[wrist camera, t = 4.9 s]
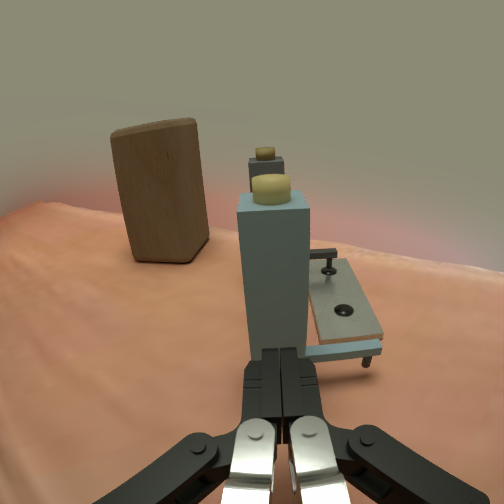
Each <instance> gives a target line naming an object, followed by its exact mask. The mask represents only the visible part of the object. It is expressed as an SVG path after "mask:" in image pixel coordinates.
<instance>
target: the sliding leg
mask: <svg viewBox="0 0 504 504" xmlns="http://www.w3.org/2000/svg"><path fill="white" fill-rule="evenodd" d="M252 192H253V193H241V195H240V200H239V204H238V208H237V221H238V232H239V242H240V253H241V263H242V273H243V284H244V294H245V304H246V313H247V323H248V333H249V342H250V352H251V361H258V360H262V349H264V348H278V351H279V369H280V348H284V347H296V348H297V355H298V358H309V359H310V360H311V361H312V363H316V362H327V361H336V360H345V359H353V358H361V357H363V360H362V364H361V365H362V367H364V368H368V367H369V366H370V363H371V359H372V356H376V355H380V354H381V351H382V345H381V343H380V340H379V339H371V340H364V341H355V342H346V343H337V344H327V345H315V346H306V338H307V319H308V296H309V262H310V207H309V205H308V204H307V202H306V200H305V198H304V196H303V194H302V192H301V191H300V190H293V191H291V187H290V176H288V175H284V174H265V175H259V176H255V177H253V178H252Z"/></svg>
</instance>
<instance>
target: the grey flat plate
mask: <svg viewBox="0 0 504 504" xmlns="http://www.w3.org/2000/svg"><path fill="white" fill-rule="evenodd" d="M326 262H327V260H310V262H309V298H310V302H311V307H312V311H313V315H314V319H315V324H316V328H317V332H318V337H319V341H320V345H327V344H337V343H346V342H355V341H364V340H371V339H379V340H381V339H382V338H383V334H384V333H383V330H382V328H381V326H380V324H379V322H378V320H377V318H376V316H375V314H374V312H373V310H372V308H371V306H370V304H369V302H368V300H367V298H366V296H365V294H364V292H363V290H362V288H361V286H360V284H359V282H358V280H357V278H356V276H355V274H354V272H353V270H352V269H351V267H350V265H349V263H348V261H347V259H346V258H344V259H332V268H331V269H327V268H326Z"/></svg>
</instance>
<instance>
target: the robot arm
mask: <svg viewBox="0 0 504 504" xmlns="http://www.w3.org/2000/svg"><path fill="white" fill-rule="evenodd" d="M281 434H283V444H288V452H289V455H288V462H289V469H290V477H291V484H292V491H293V504H350V500H349V496H348V491H347V487H346V483H345V480H346V481H348V482H349V483H350V484H352V485H353V486H354V487H356V488H357V489H358V490H360V491H361V492H362V493H364V494H365V495H366V496H368V497H369V498H370V499H372V500H373V501H375V502H376V503H377V504H490V501H489V498H488V496H487V495H486V494H484V493H483V492H481V491H479V490H477V489H476V488H474V487H472V486H470V485H468V484H467V483H465V482H463V481H461V480H460V479H458V478H456V477H455V476H453V475H451V474H449V473H448V472H446V471H444V470H443V469H441V468H440V467H438V466H436V465H435V464H433V463H431V462H430V461H428V460H427V459H425V458H423V457H422V456H420V455H419V454H417V453H416V452H414V451H412V450H411V449H409V448H408V447H406V446H405V445H403V444H402V443H400V442H399V441H397V440H396V439H394V438H393V437H391V436H390V435H388V434H387V433H385V432H384V431H382V430H381V429H380V428H378V427H376V426H374V425H361V426H359V427H357V428H355V429H354V430H349V429H342V428H337V427H334V426H332V425H331V424H329V423H328V422H327V421H326V419H325V418H324V416H323V411H322V405H321V399H320V392H319V386H318V380H317V374H316V368H315V365H314V364H313V363H312V361H311V360H310V359H309V358H298V355H297V348H296V347H284V348H280V369H279V351H278V348H264V349H262V360H258V361H249V363H248V365H247V366H246V368H245V370H244V385H243V401H242V417H241V421H240V424H239V425H238V426H237V428H236V429H234V430H233V431H232V432H230V433H227V434H224V435H220V436H216V437H211V436H210V435H208V434H206V433H200V432H199V433H192V434H190V435H188V436H186V437H185V438H183V439H182V440H181V441H180V442H178V443H177V444H176V445H175V446H173V447H172V448H171V449H170V450H168V451H167V452H166V453H164V454H163V455H162V456H160V457H159V458H158V459H156V460H155V461H154V462H152V463H151V464H150V465H148V466H147V467H146V468H144V469H143V470H142V471H140V472H139V473H137V474H136V475H135V476H133V477H132V478H130V479H129V480H127V481H126V482H125V483H123V484H122V485H120V486H119V487H117V488H116V489H114V490H113V491H111V492H110V493H108V494H107V495H105V496H104V497H102V498H100V499H99V500H97V501H96V502H94V503H92V504H198V503H199V502H201V501H202V500H203V499H204V498H205V497H206V496H208V495H209V494H210V493H211V492H212V491H213V490H215V489H216V488H217V487H218V486H219V485H220V484H221V483H222V482H223V481H224V480H226V482H225V486H224V491H223V497H222V502H221V504H272V495H273V484H274V472H275V461H276V459H277V444H281Z"/></svg>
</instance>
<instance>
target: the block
mask: <svg viewBox="0 0 504 504" xmlns="http://www.w3.org/2000/svg"><path fill="white" fill-rule="evenodd" d="M110 140H111V147H112V154H113V161H114V168H115V174H116V179H117V185H118V191H119V196H120V201H121V206H122V211H123V216H124V220H125V225H126V229H127V234H128V238H129V242H130V246H131V250H132V254H133V257H134V259H135V260H137V261H158V262H183V263H185V262H188V261H191V260H192V258H193V257H194V256H195V254H196V253H197V252H198V250H199V249H200V248H201V247H202V245H203V244H204V243H205V241H206V240H207V239H208V237H209V227H208V219H207V211H206V203H205V195H204V186H203V178H202V169H201V160H200V150H199V141H198V131H197V123H196V120H195V119H193V118H180V119H171V120H163V121H158V122H152V123H147V124H142V125H138V126H132V127H128V128H123V129H118V130H116V131H114V132H113V133H112V134H111V137H110Z"/></svg>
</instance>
